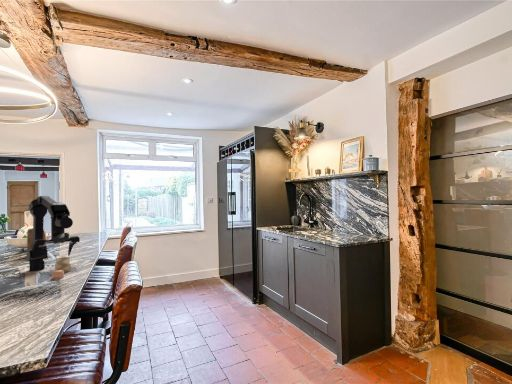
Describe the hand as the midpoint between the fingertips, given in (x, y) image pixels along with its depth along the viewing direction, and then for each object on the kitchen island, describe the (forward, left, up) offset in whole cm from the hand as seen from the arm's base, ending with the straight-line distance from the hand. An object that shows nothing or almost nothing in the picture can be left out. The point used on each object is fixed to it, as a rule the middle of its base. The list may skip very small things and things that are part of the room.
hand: (58, 257), depth 147 cm
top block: (+3, +15, -7) cm, 17 cm away
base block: (+3, +15, -11) cm, 18 cm away
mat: (+3, +15, -11) cm, 19 cm away
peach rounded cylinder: (0, 0, -11) cm, 11 cm away
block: (-9, +78, -11) cm, 79 cm away
